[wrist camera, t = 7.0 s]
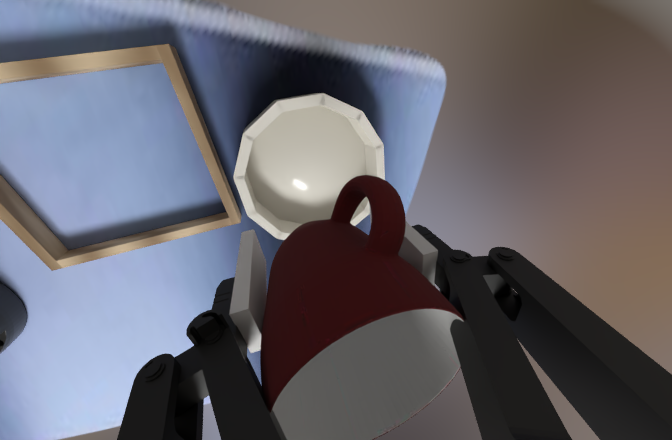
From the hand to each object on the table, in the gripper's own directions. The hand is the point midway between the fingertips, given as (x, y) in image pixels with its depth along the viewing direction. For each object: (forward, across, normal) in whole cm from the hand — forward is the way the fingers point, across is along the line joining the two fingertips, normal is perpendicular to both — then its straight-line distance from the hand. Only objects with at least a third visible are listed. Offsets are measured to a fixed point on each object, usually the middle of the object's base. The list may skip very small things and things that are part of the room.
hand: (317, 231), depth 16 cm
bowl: (+16, +2, -1) cm, 16 cm away
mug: (0, 0, 0) cm, 0 cm away
